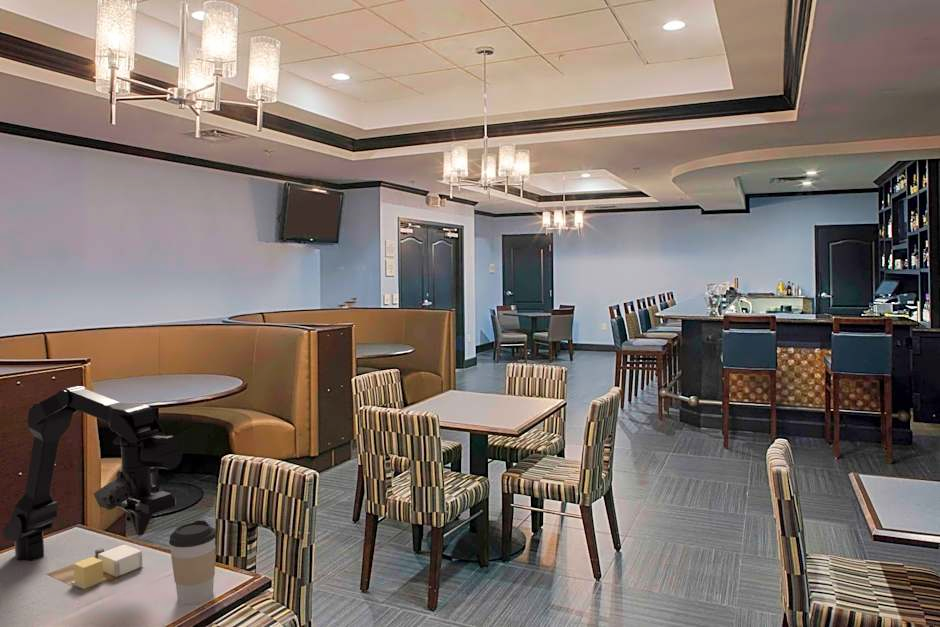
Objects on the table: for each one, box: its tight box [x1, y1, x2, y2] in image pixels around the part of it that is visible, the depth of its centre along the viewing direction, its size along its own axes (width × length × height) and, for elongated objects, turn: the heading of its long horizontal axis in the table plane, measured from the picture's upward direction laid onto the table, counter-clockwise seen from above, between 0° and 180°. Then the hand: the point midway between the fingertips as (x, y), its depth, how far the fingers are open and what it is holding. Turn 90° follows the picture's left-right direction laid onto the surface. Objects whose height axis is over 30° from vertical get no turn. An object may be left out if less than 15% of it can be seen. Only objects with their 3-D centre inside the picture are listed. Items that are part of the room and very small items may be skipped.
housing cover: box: [98, 544, 144, 577], centre depth 150 cm, size 7×6×4 cm
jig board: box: [46, 548, 144, 593], centre depth 149 cm, size 16×13×3 cm
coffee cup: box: [168, 519, 217, 605], centre depth 138 cm, size 9×9×15 cm
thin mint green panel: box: [71, 577, 107, 589], centre depth 144 cm, size 5×5×1 cm
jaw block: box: [73, 556, 104, 586], centre depth 144 cm, size 4×4×4 cm
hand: (140, 534), depth 145 cm, fingers closed
